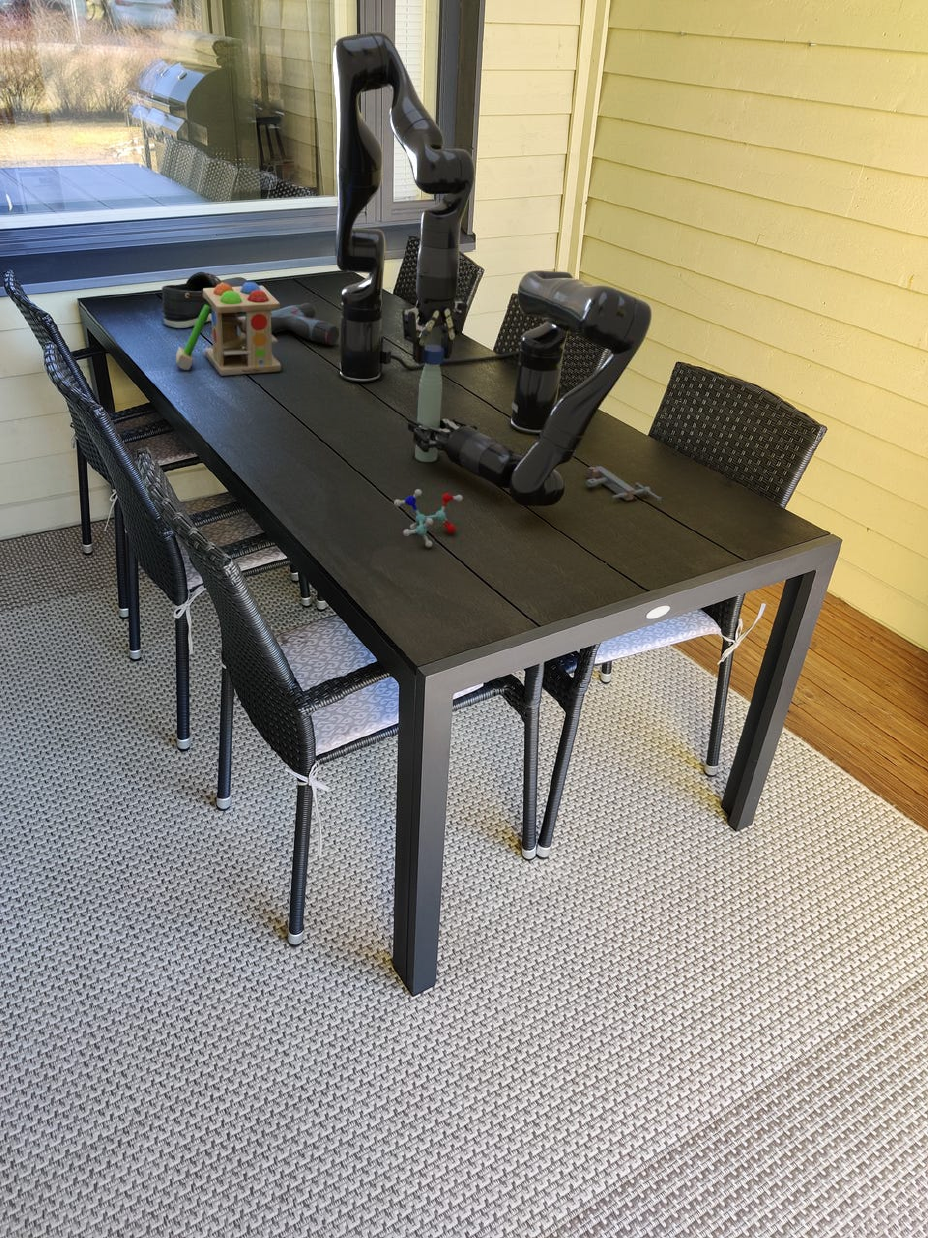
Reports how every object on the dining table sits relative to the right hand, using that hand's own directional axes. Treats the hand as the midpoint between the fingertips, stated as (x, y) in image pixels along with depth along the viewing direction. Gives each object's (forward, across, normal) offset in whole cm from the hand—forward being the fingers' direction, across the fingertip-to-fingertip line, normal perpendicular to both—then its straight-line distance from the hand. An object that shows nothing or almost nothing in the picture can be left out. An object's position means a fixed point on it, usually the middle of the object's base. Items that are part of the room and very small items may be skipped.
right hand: (419, 421), depth 196 cm
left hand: (-3, 0, -14) cm, 14 cm away
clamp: (-35, -22, +7) cm, 42 cm away
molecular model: (-27, +20, +7) cm, 35 cm away
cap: (-3, 0, -15) cm, 16 cm away
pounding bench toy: (+61, +9, +7) cm, 62 cm away
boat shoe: (+97, -7, +7) cm, 98 cm away
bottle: (-3, 0, +7) cm, 7 cm away
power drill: (+70, -22, +7) cm, 74 cm away
